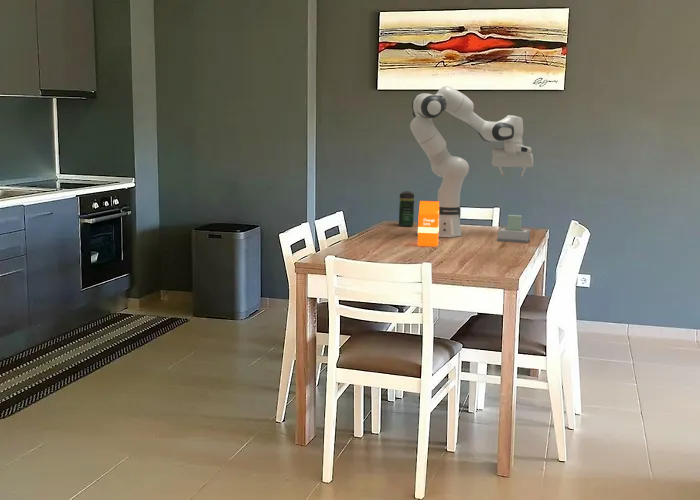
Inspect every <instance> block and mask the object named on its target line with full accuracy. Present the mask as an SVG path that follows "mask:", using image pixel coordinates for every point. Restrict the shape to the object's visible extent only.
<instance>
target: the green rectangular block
mask: <svg viewBox="0 0 700 500" xmlns="http://www.w3.org/2000/svg"><path fill="white" fill-rule="evenodd" d="M522 216H523V215H520V214H519V215H518V214H508V215H507V228H506V229H507V230H510V231H521V229H522Z"/></svg>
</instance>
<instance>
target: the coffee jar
mask: <svg viewBox="0 0 700 500" xmlns="http://www.w3.org/2000/svg"><path fill="white" fill-rule="evenodd" d="M398 208H399V209H398V225H399V226H400V227H404V228H406V227H413V226H414V221H415V220H414V218H415V217H414V216H415V215H414V214H415V194H414V192H413V191H411V190H410V191H409V190H405V191H404V190H403V191H402V192H400V193H399V207H398Z"/></svg>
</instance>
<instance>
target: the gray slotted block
mask: <svg viewBox="0 0 700 500" xmlns="http://www.w3.org/2000/svg"><path fill="white" fill-rule="evenodd" d="M530 241H531V230H530V229H523V228H521V231H510V230H507V228H504V227H503V228H499V229H497V238H496V242H503V243H504V242H505V243H519V244H522V243H523V244H528V243H529V242H530Z"/></svg>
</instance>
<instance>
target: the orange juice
mask: <svg viewBox="0 0 700 500" xmlns="http://www.w3.org/2000/svg"><path fill="white" fill-rule="evenodd" d="M418 208H419V209H418V219H417V220H418V222H417V223H418V226H417V231H418V235H417V246H418V247H421V246H422V247H438V246H439V238H440V237H439V202H438V201H436V200H435V201H432V200H420V201H419V207H418Z"/></svg>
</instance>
